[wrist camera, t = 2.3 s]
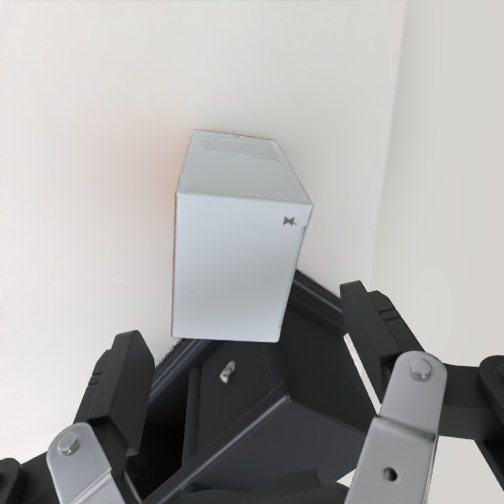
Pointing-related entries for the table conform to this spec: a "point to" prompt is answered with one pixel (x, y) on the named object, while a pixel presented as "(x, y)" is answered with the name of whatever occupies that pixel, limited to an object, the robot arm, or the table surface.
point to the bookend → (255, 407)
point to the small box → (235, 238)
